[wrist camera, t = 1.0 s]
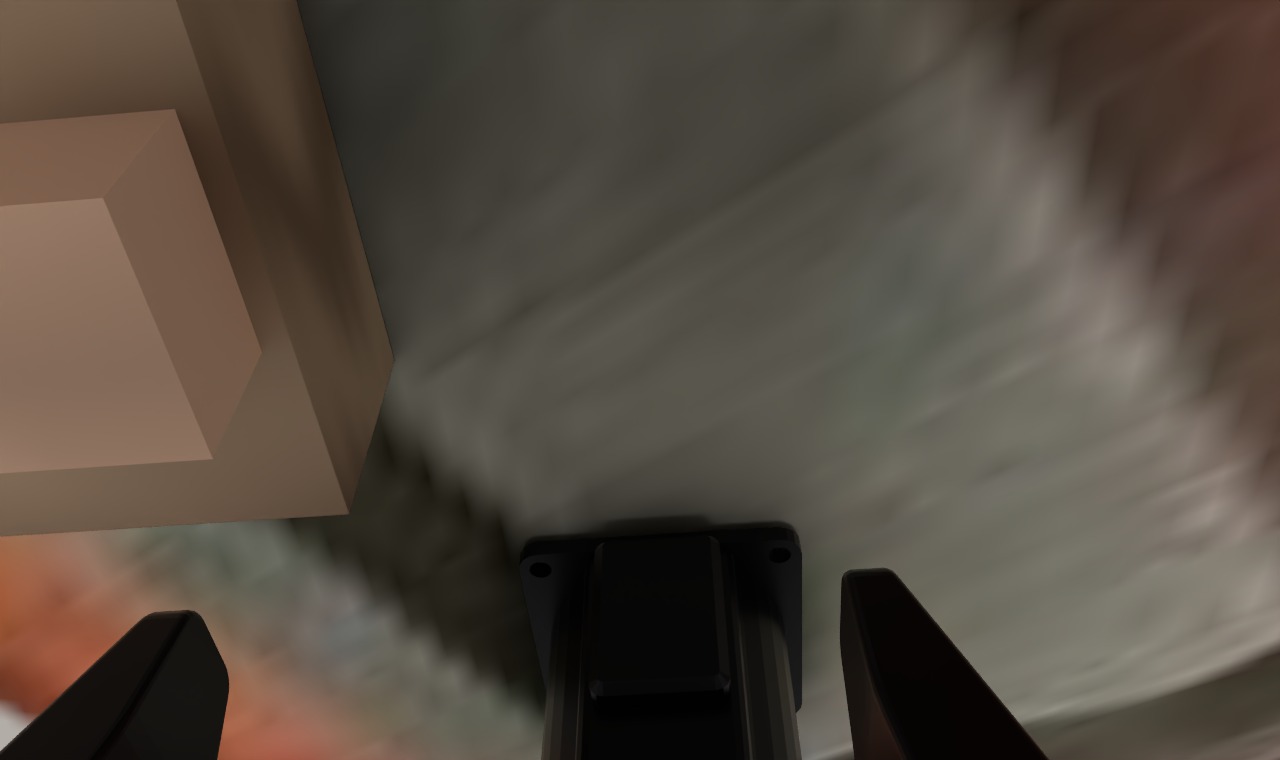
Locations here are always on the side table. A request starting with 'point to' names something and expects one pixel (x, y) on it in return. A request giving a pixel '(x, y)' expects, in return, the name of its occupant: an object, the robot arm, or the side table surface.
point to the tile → (113, 298)
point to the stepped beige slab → (254, 242)
